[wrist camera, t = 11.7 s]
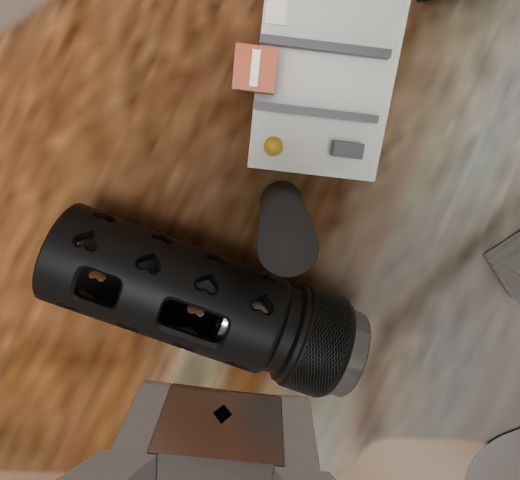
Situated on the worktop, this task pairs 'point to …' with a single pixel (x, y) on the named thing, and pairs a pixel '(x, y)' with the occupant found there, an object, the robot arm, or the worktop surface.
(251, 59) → the block
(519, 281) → the skincare box
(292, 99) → the panel
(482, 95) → the worktop surface
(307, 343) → the muzzle brake
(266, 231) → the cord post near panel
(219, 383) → the worktop surface
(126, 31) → the worktop surface
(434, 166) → the worktop surface
